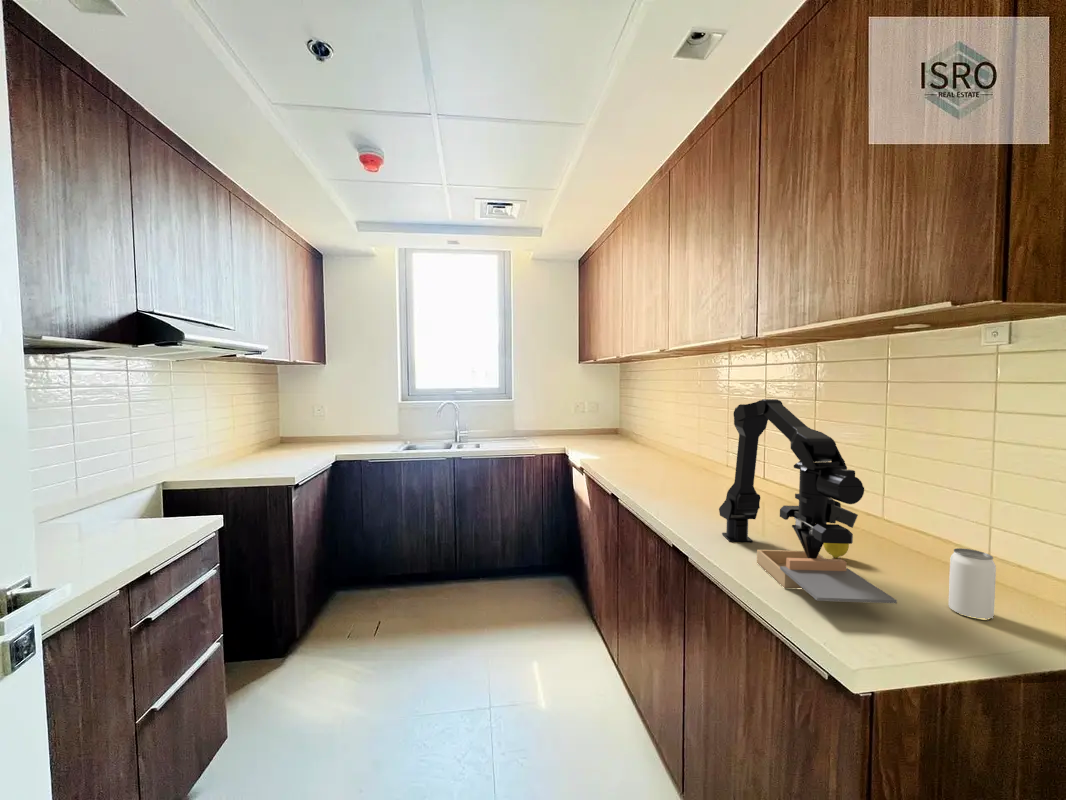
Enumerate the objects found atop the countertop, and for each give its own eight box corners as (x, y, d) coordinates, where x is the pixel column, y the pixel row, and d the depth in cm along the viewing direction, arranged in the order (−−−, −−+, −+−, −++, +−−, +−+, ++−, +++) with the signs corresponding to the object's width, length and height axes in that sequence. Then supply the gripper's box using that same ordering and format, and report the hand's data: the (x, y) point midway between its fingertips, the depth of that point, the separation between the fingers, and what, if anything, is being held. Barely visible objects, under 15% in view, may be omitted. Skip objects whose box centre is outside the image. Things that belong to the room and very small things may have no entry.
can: (1000, 624, 85) (1003, 562, 84) (956, 617, 88) (958, 556, 87) (984, 609, 91) (986, 550, 90) (942, 602, 94) (945, 545, 93)
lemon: (830, 552, 120) (831, 523, 120) (852, 559, 116) (853, 529, 115) (818, 556, 118) (819, 526, 118) (840, 563, 113) (841, 532, 113)
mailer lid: (780, 568, 101) (780, 557, 100) (847, 570, 100) (848, 559, 100) (817, 600, 86) (817, 587, 86) (896, 603, 85) (897, 589, 85)
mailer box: (756, 563, 113) (757, 549, 113) (814, 564, 112) (814, 551, 112) (784, 588, 99) (784, 573, 99) (850, 591, 98) (850, 575, 98)
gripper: (881, 504, 91) (878, 580, 91) (826, 483, 109) (824, 546, 110) (824, 503, 91) (821, 578, 92) (779, 482, 110) (777, 545, 110)
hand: (811, 560), depth 101 cm, fingers closed
